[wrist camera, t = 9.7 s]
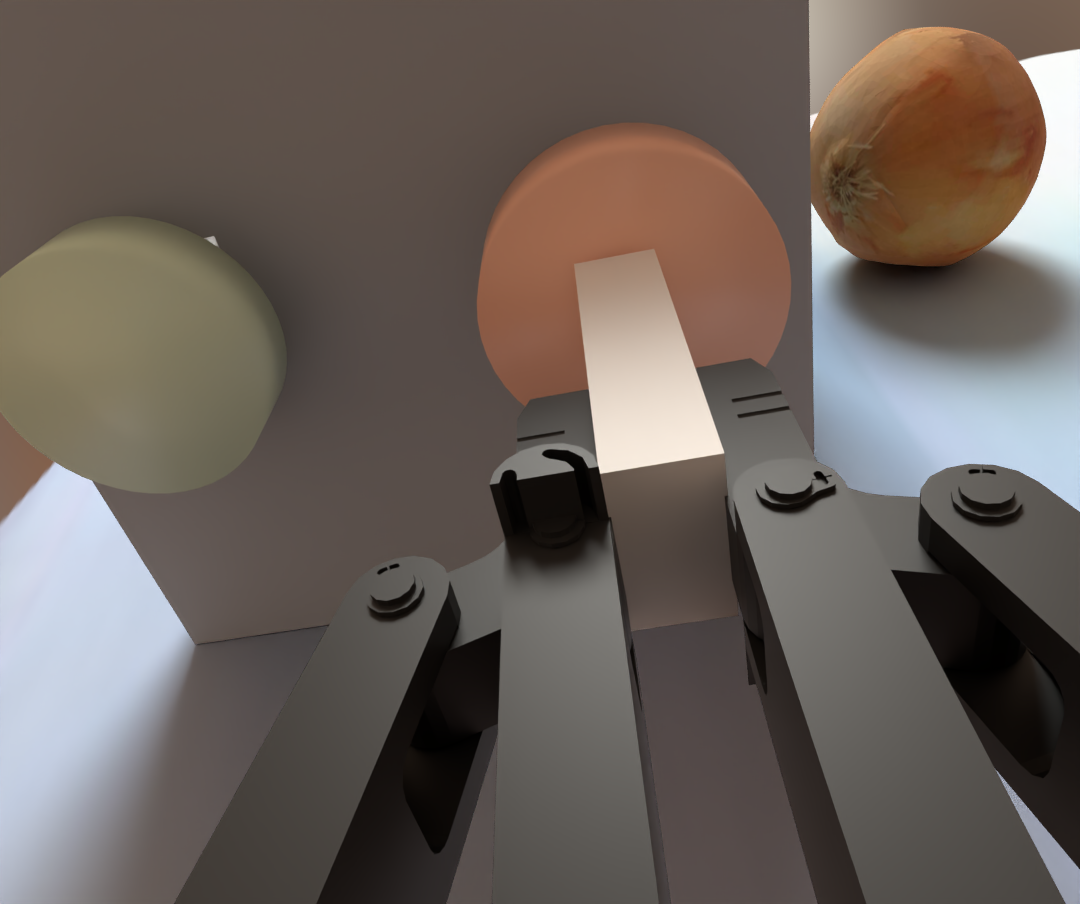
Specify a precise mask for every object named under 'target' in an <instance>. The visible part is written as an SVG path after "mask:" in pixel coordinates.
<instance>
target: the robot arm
mask: <svg viewBox="0 0 1080 904" xmlns="http://www.w3.org/2000/svg"><path fill="white" fill-rule="evenodd" d="M574 268H575V277H576V285H577V294H578V302H579V310H580V319H581V327H582V336H583V344H584V352H585V361H586V369H587V378H588V386H589V389H586V390H580V391H574V392H569V393H563V394H557V395H552V396H546V397H540V398H535V399H530V400H529V402H528V403H527V405H526V406H525V408H524V409H523V411H522V412H521V414H520V415H519V417H518V418H517V453H516V454H515V455H513V456H511V457H509V458H508V459H506V460H505V461H504V462H503V463H502V464H501V465H500V466H499V467H498V468H497V469H496V470H495V471H494V473H493V476H492V479H491V481H490V484H489V486H490V489H491V492H492V496H493V499H494V503H495V506H496V510H497V513H498V516H499V520H500V523H501V527H502V530H503V534H504V541H503V542H502V543H501V544H500V546H499V547H497V548H496V549H495V550H493V551H492V552H491V553H489V554H488V555H487V556H485V557H483V558H481V559H479V560H477V561H475V562H473V563H471V564H468V565H466V566H463V567H461V568H458V569H456V570H453V571H451V572H448V573H447V572H446V570H445V568H444V567H443V566H442V565H440V564H439V563H437V562H436V561H434V560H433V559H430V558H425V557H419V556H409V557H402V558H395V559H392V560H390V561H387V562H385V563H382V564H380V565H377V566H375V567H374V568H372V569H371V570H369V571H368V572H366V573H365V574H364V575H362V576H361V577H359V578H358V579H357V581H356V582H355V583H354V584H353V586H352V587H351V588H350V589H349V591H348V592H347V593H346V595H345V597H344V599H343V601H342V602H341V604H340V606H339V608H338V610H337V611H336V613H335V615H334V617H333V619H332V620H331V622H330V624H329V626H328V628H327V629H326V631H325V633H324V635H323V637H322V638H321V640H320V642H319V644H318V646H317V647H316V649H315V651H314V653H313V655H312V656H311V658H310V660H309V662H308V664H307V665H306V667H305V669H304V671H303V673H302V674H301V676H300V678H299V680H298V682H297V683H296V685H295V687H294V689H293V691H292V692H291V694H290V696H289V698H288V700H287V701H286V703H285V705H284V707H283V709H282V710H281V712H280V714H279V716H278V718H277V719H276V721H275V723H274V725H273V727H272V728H271V730H270V732H269V734H268V736H267V737H266V739H265V741H264V743H263V745H262V746H261V748H260V750H259V752H258V754H257V755H256V757H255V759H254V761H253V763H252V764H251V766H250V768H249V770H248V772H247V773H246V775H245V777H244V779H243V781H242V782H241V784H240V786H239V788H238V790H237V791H236V793H235V795H234V797H233V799H232V800H231V802H230V804H229V806H228V808H227V809H226V811H225V813H224V815H223V817H222V818H221V820H220V822H219V824H218V826H217V827H216V829H215V831H214V833H213V835H212V836H211V838H210V840H209V842H208V844H207V845H206V847H205V849H204V851H203V853H202V854H201V856H200V858H199V860H198V862H197V863H196V865H195V867H194V869H193V871H192V872H191V874H190V876H189V878H188V880H187V881H186V883H185V885H184V887H183V889H182V890H181V892H180V894H179V896H178V898H177V899H176V901H175V903H174V904H446V902H447V899H448V896H449V892H450V889H451V886H452V882H453V879H454V876H455V873H456V869H457V866H458V863H459V859H460V856H461V853H462V849H463V846H464V843H465V840H466V836H467V833H468V830H469V826H470V823H471V820H472V817H473V813H474V810H475V807H476V803H477V800H478V797H479V794H480V790H481V787H482V784H483V780H484V777H485V774H486V770H487V767H488V764H489V761H490V757H491V754H492V751H493V747H494V744H495V741H496V738H497V734H498V741H497V771H496V800H495V830H494V860H493V890H492V904H671V900H670V893H669V886H668V879H667V872H666V865H665V858H664V851H663V844H662V836H661V829H660V822H659V815H658V808H657V801H656V794H655V787H654V780H653V773H652V766H651V759H650V752H649V745H648V738H647V731H646V724H645V717H644V710H643V702H642V695H641V688H640V681H639V674H638V667H637V661H636V656H635V650H634V645H633V640H632V634H631V631H636V630H643V629H650V628H657V627H664V626H670V625H677V624H684V623H691V622H698V621H705V620H712V619H719V618H726V617H732V616H739V615H738V603H737V599H738V602H739V605H740V609H741V612H742V616H743V620H744V632H745V644H746V656H747V669H748V681H749V685H752V684H756V685H757V688H758V692H759V696H760V699H761V703H762V706H763V710H764V713H765V717H766V721H767V724H768V728H769V731H770V735H771V738H772V742H773V745H774V749H775V753H776V756H777V760H778V763H779V767H780V770H781V774H782V777H783V781H784V785H785V788H786V792H787V795H788V799H789V802H790V806H791V809H792V813H793V817H794V820H795V824H796V827H797V831H798V834H799V838H800V842H801V845H802V849H803V852H804V856H805V859H806V863H807V866H808V870H809V874H810V877H811V881H812V884H813V888H814V891H815V895H816V898H817V902H818V904H1065V902H1064V900H1063V898H1062V896H1061V894H1060V892H1059V890H1058V888H1057V887H1056V885H1055V883H1054V881H1053V879H1052V877H1051V875H1050V873H1049V871H1048V869H1047V867H1046V866H1045V864H1044V862H1043V860H1042V858H1041V856H1040V854H1039V852H1038V850H1037V848H1036V846H1035V845H1034V843H1033V841H1032V839H1031V837H1030V835H1029V833H1028V831H1027V829H1026V827H1025V825H1024V823H1023V822H1022V820H1021V818H1020V816H1019V814H1018V812H1017V810H1016V808H1015V806H1014V804H1013V802H1012V801H1011V799H1010V797H1009V795H1008V793H1007V791H1006V789H1005V787H1004V785H1003V783H1002V781H1001V780H1000V778H999V776H998V774H997V772H996V770H997V771H998V772H999V774H1000V775H1001V776H1002V777H1003V778H1004V780H1005V781H1006V782H1007V783H1008V784H1009V786H1010V787H1011V788H1012V789H1013V790H1014V791H1015V793H1016V794H1017V795H1018V796H1019V797H1020V799H1021V800H1022V801H1023V802H1024V803H1025V805H1026V806H1027V807H1028V808H1029V809H1030V810H1031V812H1032V813H1033V814H1034V815H1035V816H1036V818H1037V819H1038V820H1039V821H1040V822H1041V824H1042V825H1043V826H1044V827H1045V828H1046V830H1047V831H1048V832H1049V833H1050V834H1051V835H1052V837H1053V838H1054V839H1055V840H1056V841H1057V843H1058V844H1059V845H1060V846H1061V847H1062V849H1063V850H1064V851H1065V852H1066V853H1067V854H1068V856H1069V857H1070V858H1071V859H1072V860H1073V862H1074V863H1075V864H1076V865H1077V866H1078V868H1079V869H1080V512H1079V511H1078V510H1076V509H1075V508H1073V507H1072V506H1071V505H1069V504H1068V503H1067V502H1065V501H1064V500H1063V499H1061V498H1060V497H1058V496H1057V495H1056V494H1054V493H1053V492H1052V491H1050V490H1049V489H1048V488H1046V487H1045V486H1043V485H1042V484H1041V483H1039V482H1038V481H1036V480H1034V479H1032V478H1030V477H1028V476H1026V475H1025V474H1023V473H1021V472H1019V471H1016V470H1012V469H1008V468H1004V467H1000V466H996V465H981V464H966V465H961V466H956V467H950V468H946V469H944V470H942V471H940V472H938V473H936V474H934V475H932V476H931V477H929V479H928V480H927V481H926V483H925V484H924V485H923V487H922V488H921V492H920V497H903V496H884V495H876V494H868V493H864V492H860V491H857V490H853V489H850V488H848V487H847V485H846V483H845V481H844V480H843V479H842V478H841V477H840V476H839V475H838V474H837V473H836V472H835V471H834V470H833V469H831V468H829V467H827V466H825V465H823V464H821V463H819V462H817V461H816V459H815V457H814V455H813V453H812V451H811V449H810V447H809V445H808V443H807V441H806V439H805V437H804V435H803V433H802V431H801V429H800V427H799V425H798V423H797V421H796V418H795V416H794V414H793V412H792V410H790V408H789V404H788V402H787V400H786V398H785V396H784V394H782V390H781V388H780V386H779V384H778V382H777V380H776V378H775V376H774V374H773V372H772V371H770V370H769V369H767V368H765V367H764V366H762V365H761V364H759V363H758V362H756V361H755V360H753V359H751V358H748V359H742V360H737V361H731V362H726V363H720V364H714V365H709V366H703V367H697V368H695V366H694V363H693V360H692V357H691V354H690V351H689V349H688V346H687V343H686V340H685V337H684V334H683V331H682V328H681V325H680V322H679V319H678V317H677V314H676V311H675V308H674V305H673V302H672V299H671V296H670V293H669V290H668V287H667V285H666V282H665V279H664V276H663V273H662V270H661V267H660V264H659V261H658V258H657V255H656V253H655V250H654V249H650V250H644V251H639V252H634V253H629V254H624V255H618V256H613V257H608V258H603V259H598V260H592V261H587V262H582V263H577V264H574ZM995 769H996V770H995Z"/></svg>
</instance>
